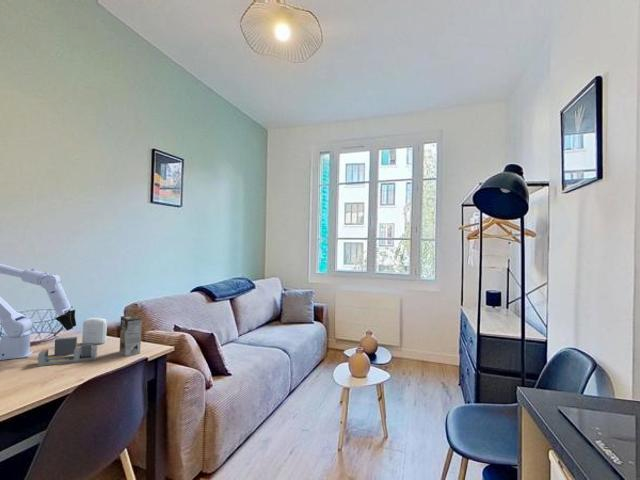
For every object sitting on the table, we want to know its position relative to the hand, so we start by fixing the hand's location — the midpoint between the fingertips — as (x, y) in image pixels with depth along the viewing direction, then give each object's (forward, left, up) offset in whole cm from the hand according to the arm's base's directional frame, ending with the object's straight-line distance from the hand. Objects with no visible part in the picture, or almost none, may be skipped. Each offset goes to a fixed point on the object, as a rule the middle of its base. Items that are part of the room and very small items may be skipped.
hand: (71, 328), depth 148 cm
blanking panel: (-2, -1, -11) cm, 11 cm away
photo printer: (+7, +13, -11) cm, 19 cm away
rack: (+1, -12, -11) cm, 16 cm away
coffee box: (+23, -9, -11) cm, 27 cm away
